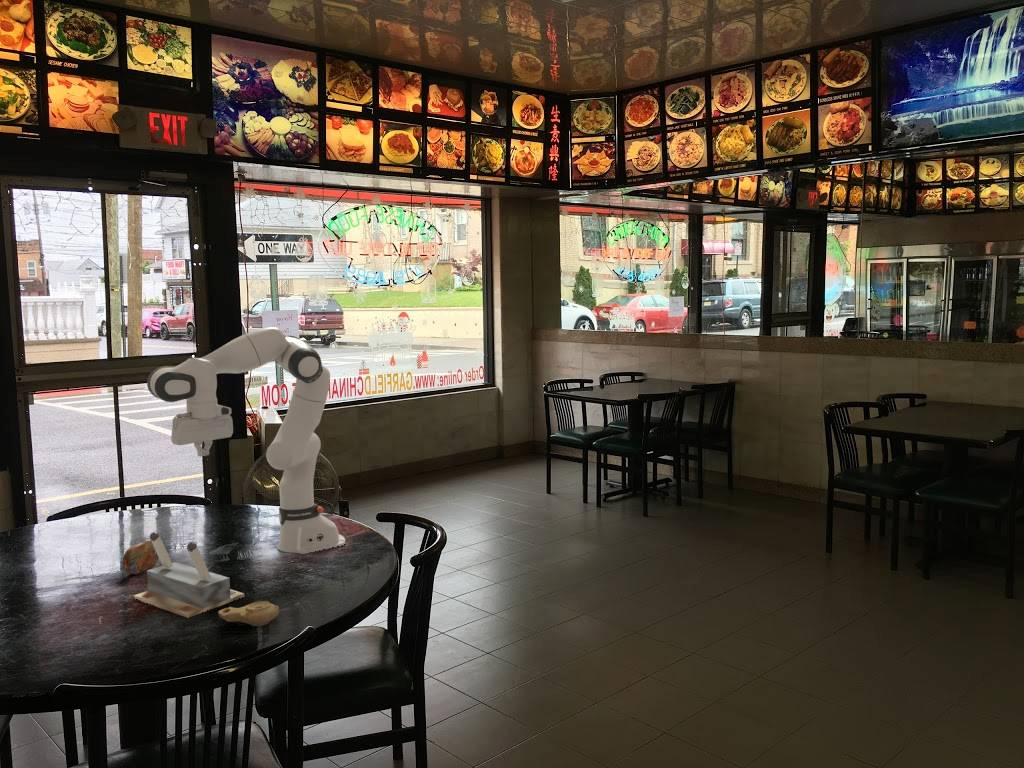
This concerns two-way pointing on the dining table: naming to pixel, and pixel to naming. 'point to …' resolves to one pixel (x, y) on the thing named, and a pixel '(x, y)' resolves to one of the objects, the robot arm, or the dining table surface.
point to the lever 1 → (160, 550)
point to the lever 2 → (198, 561)
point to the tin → (140, 557)
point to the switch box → (186, 590)
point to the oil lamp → (251, 613)
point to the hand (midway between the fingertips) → (203, 455)
